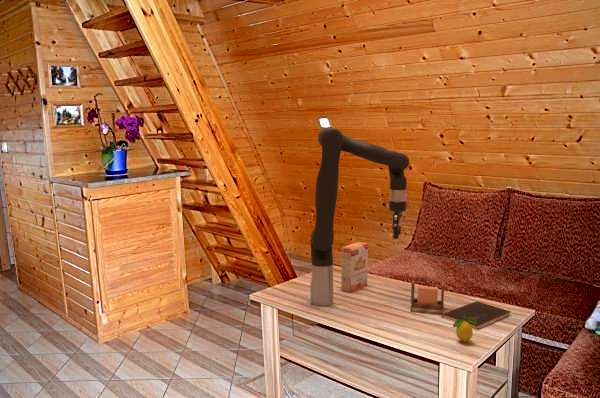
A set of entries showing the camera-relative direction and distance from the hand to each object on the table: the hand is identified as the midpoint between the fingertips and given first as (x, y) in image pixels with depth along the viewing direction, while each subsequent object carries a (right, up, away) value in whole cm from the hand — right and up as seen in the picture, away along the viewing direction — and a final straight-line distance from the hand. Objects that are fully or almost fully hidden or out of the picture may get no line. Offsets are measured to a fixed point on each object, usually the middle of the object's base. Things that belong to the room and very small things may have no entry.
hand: (396, 236), depth 221 cm
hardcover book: (+28, -31, -18) cm, 46 cm away
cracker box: (-16, -26, +18) cm, 36 cm away
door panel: (+11, -28, -9) cm, 32 cm away
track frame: (+11, -29, -9) cm, 33 cm away
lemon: (+16, -34, -41) cm, 56 cm away
